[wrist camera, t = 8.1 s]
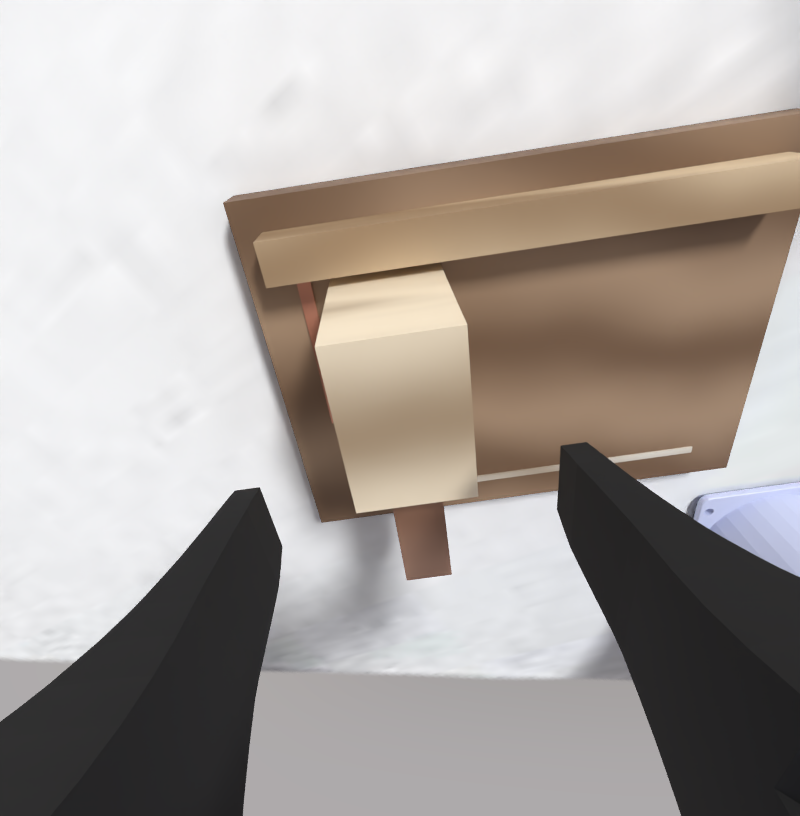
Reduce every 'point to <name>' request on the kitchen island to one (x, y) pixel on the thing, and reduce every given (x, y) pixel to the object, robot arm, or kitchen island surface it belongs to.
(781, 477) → the kitchen island surface
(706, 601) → the robot arm
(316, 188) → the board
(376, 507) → the mallet
